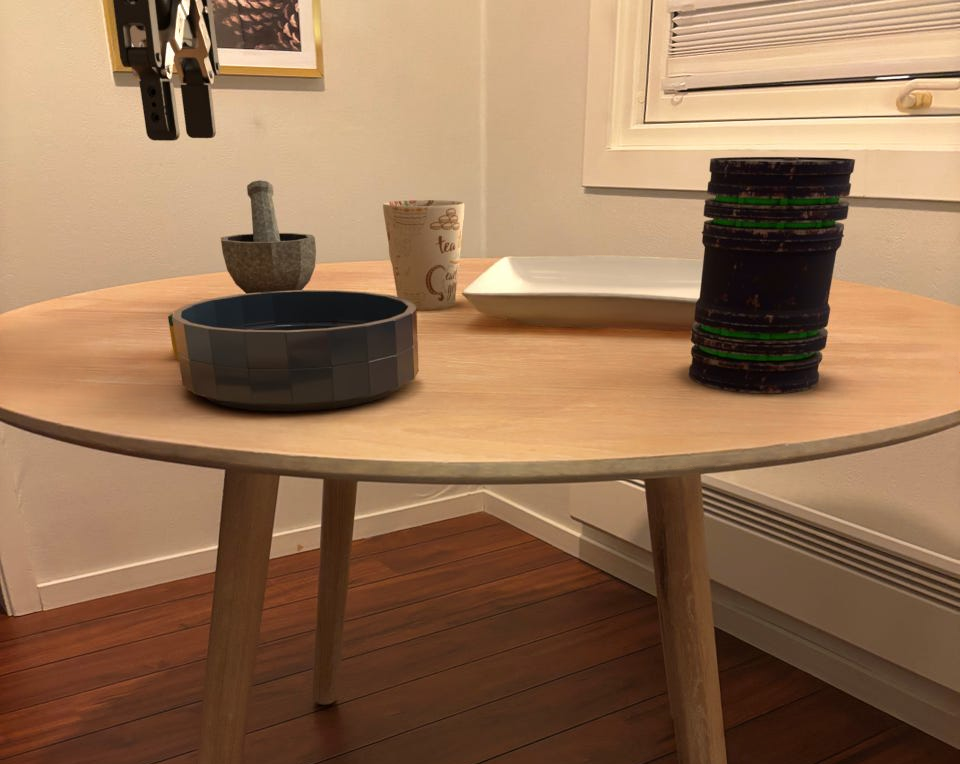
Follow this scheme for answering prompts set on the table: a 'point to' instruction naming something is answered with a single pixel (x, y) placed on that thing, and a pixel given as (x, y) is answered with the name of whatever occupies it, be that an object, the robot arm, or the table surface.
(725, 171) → the storage jar
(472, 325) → the table surface
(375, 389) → the bowl
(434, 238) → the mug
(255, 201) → the mortar and pestle
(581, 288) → the square plate
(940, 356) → the table surface
